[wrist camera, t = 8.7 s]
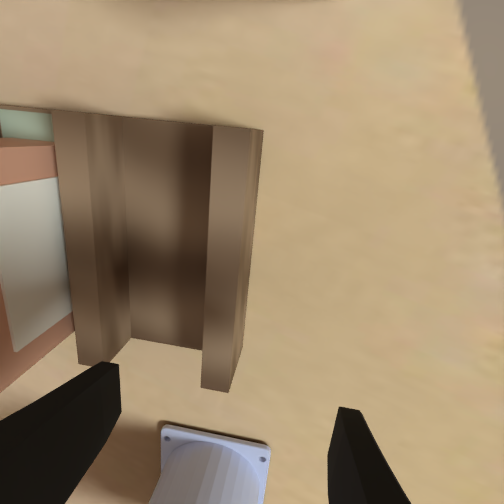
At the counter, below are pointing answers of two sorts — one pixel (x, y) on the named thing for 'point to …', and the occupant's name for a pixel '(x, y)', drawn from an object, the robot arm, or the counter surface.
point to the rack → (153, 230)
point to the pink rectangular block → (31, 257)
